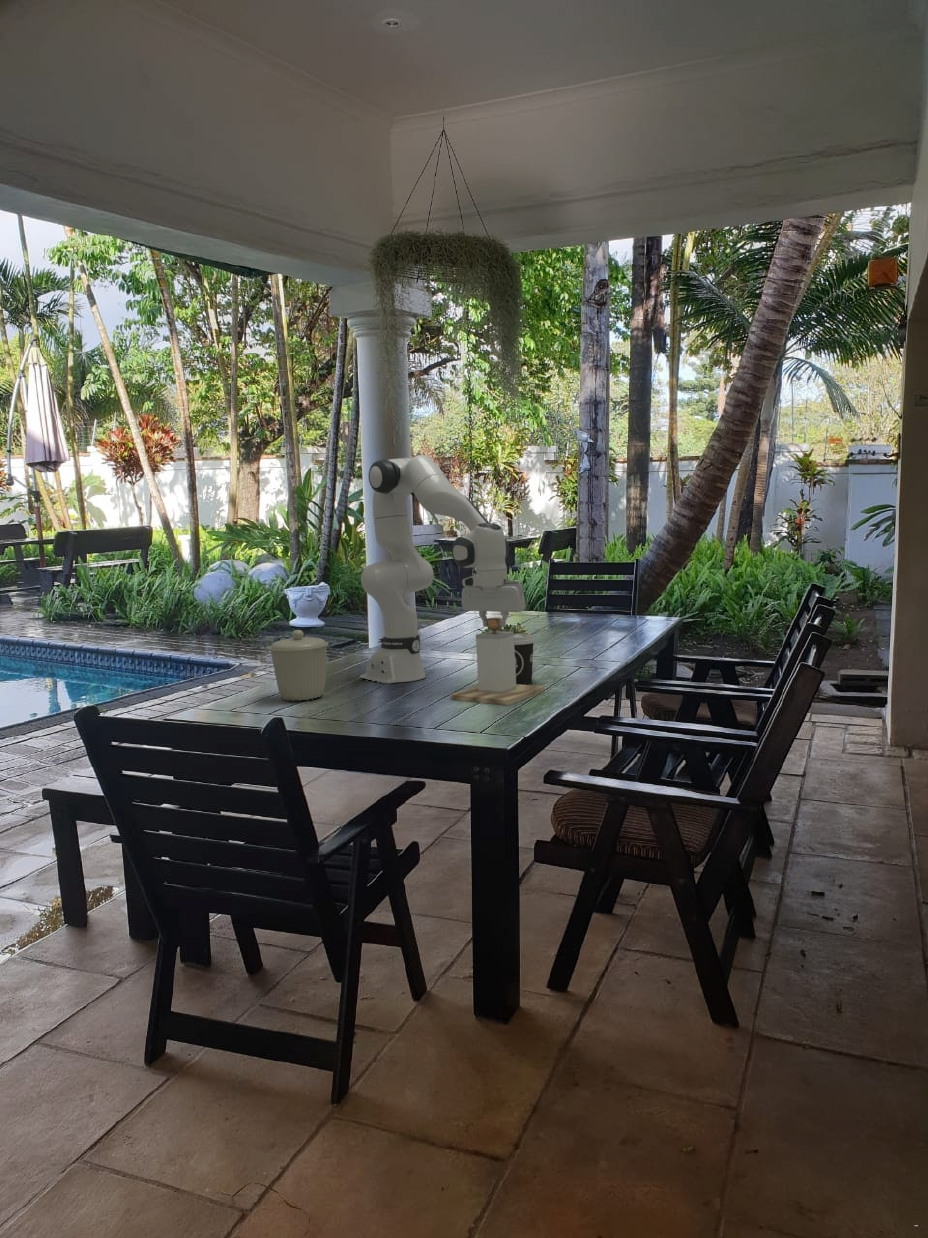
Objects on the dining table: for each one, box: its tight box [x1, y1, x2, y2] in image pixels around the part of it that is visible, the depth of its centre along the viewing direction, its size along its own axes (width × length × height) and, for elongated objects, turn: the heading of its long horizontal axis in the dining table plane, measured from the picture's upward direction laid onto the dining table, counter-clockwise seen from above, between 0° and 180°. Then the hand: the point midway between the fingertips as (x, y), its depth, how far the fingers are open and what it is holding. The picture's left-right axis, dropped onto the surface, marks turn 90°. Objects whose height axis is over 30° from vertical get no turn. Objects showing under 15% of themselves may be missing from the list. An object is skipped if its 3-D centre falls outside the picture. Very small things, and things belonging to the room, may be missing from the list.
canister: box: [267, 629, 329, 701], centre depth 298 cm, size 18×18×21 cm
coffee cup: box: [514, 633, 536, 685], centre depth 303 cm, size 10×10×15 cm
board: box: [449, 684, 545, 706], centre depth 288 cm, size 20×20×2 cm
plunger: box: [487, 617, 502, 634], centre depth 286 cm, size 6×6×20 cm
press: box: [475, 630, 516, 694], centre depth 288 cm, size 8×11×17 cm
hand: (494, 626), depth 285 cm, fingers closed on plunger, 4 cm apart
